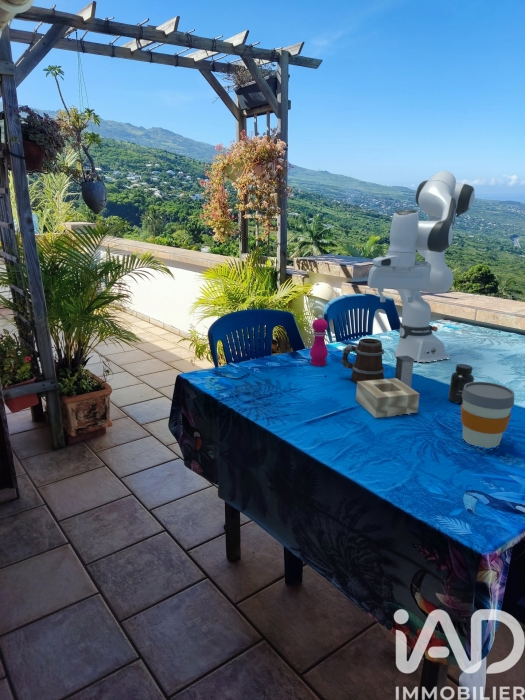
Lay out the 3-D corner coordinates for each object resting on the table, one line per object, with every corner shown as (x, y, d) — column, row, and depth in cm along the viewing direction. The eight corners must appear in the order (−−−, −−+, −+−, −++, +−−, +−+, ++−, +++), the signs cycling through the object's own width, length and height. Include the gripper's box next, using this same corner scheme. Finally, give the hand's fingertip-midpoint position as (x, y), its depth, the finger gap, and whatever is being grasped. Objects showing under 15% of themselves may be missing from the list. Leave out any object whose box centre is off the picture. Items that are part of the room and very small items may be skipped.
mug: (383, 376, 176) (387, 337, 172) (383, 388, 165) (386, 346, 160) (341, 372, 180) (343, 334, 175) (338, 383, 169) (340, 343, 164)
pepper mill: (327, 361, 193) (329, 313, 187) (327, 366, 186) (330, 317, 180) (309, 360, 193) (311, 313, 188) (309, 366, 187) (311, 317, 181)
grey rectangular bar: (404, 388, 165) (407, 355, 161) (410, 392, 161) (414, 359, 157) (393, 389, 164) (396, 356, 160) (399, 393, 160) (402, 360, 156)
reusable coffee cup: (482, 456, 119) (491, 402, 115) (445, 435, 130) (452, 385, 126) (517, 447, 124) (526, 394, 120) (479, 427, 135) (486, 378, 131)
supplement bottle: (460, 406, 150) (465, 370, 146) (443, 398, 156) (447, 364, 152) (475, 402, 153) (480, 367, 149) (458, 395, 159) (462, 361, 155)
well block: (394, 396, 157) (396, 378, 155) (417, 413, 144) (419, 393, 142) (355, 400, 154) (357, 381, 152) (375, 417, 141) (377, 397, 139)
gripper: (428, 260, 158) (423, 301, 162) (368, 259, 158) (364, 299, 161) (435, 262, 152) (430, 304, 156) (373, 260, 151) (369, 303, 155)
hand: (396, 302), depth 159 cm, fingers open, 8 cm apart
